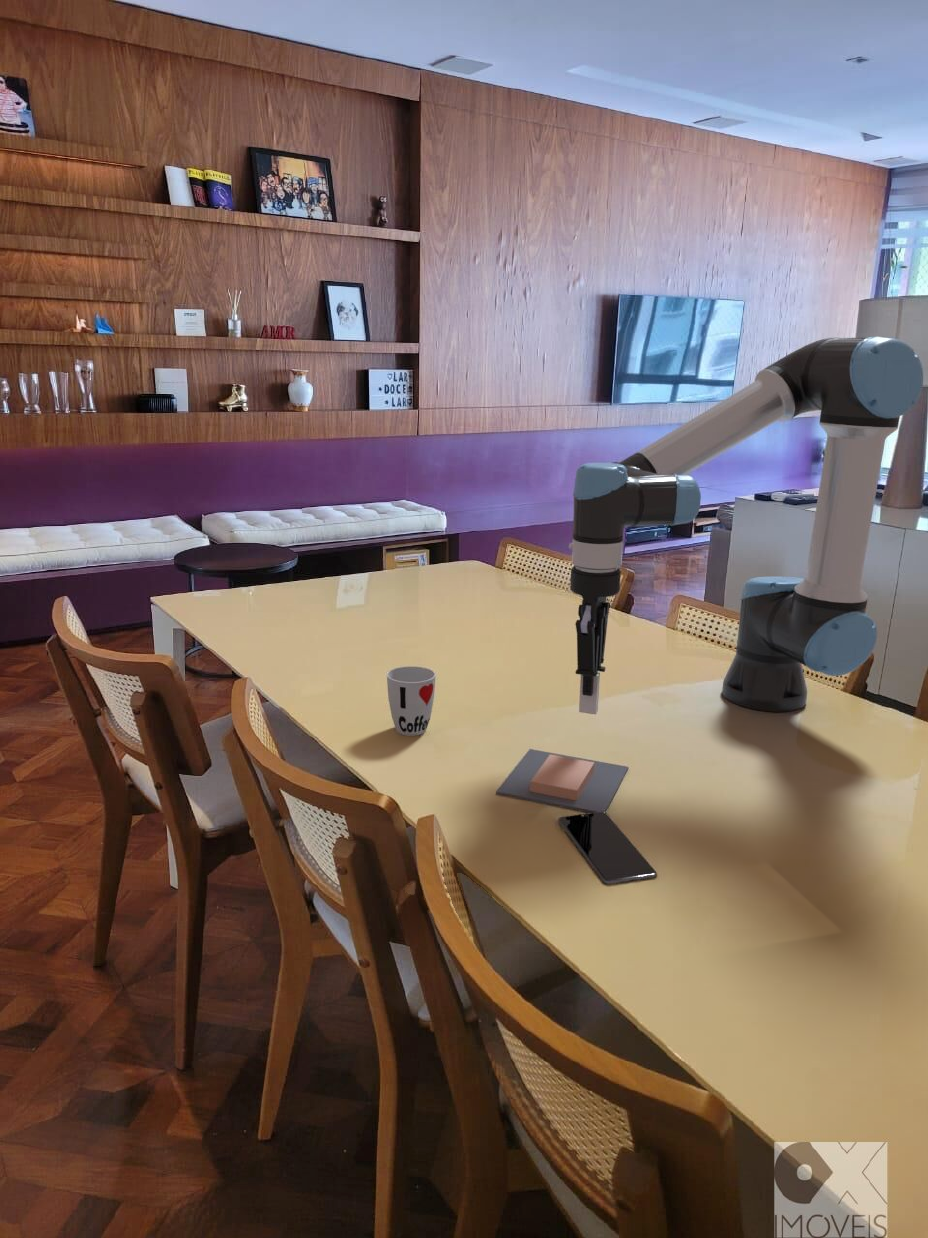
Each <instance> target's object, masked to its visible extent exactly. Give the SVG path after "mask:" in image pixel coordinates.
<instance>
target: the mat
mask: <svg viewBox="0 0 928 1238" xmlns="http://www.w3.org/2000/svg"><path fill="white" fill-rule="evenodd" d="M550 754H551V755H556V756H562V757H567V758H573V759H578V760H584V761H589V762H594V773H593V774H592V776H591V778H590V779H589V781H588V783H587V784H586V786H585V788H584V789H583V791H582V793H581V794H580V796H579V798H578V799H577V801H576V800H571V799H566V798H561V797H556V796H551V795H546V794H541V793H536V792H531V791H530V781H531V780H532V778H533V777H534V776H535V774H536V773H537V772H538V770H539V769H540V767H541V766H542V765H543V763H544V762H545V761H546V759H547V758H548V757H549V755H550ZM629 767H630V766H626V765H621V764H616V763H609V762H606V761H605V762H604V761H599V760H594V759H587V758H583V757H576V756H571V755H565V754H562V753H561V754H560V753H554V752H549V751H543V750H538V749H533V748H529V749H528V751H526V753H525V754H524V756H522V758H521V759H520V761H519V762H518V763H517V764H516V765H515V767H514V769H513V770H511V772H510V773H509V774H508V776H507V777H506V778H505V779H504V781H503V782H502V783H501V784H500V786H499V787H498V788H497V790H496V792H495V794H496V795H500V796H505V797H509V798H514V799H520V800H525V801H530V802H535V803H540V804H545V805H550V806H555V807H560V808H564V809H569V810H573V811H578V812H579V811H580V812H584V813H595V812H605V813H606V814H607V811H608V810H609V807H610V806H611V803H612V801H613V800H614V799H615V796H616V794H617V793H618V790H619V788H620V786H621V785H622V782H623V781H624V780H625V779H624V778H625V777H626V775H627V772H628V771H629Z"/></svg>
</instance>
